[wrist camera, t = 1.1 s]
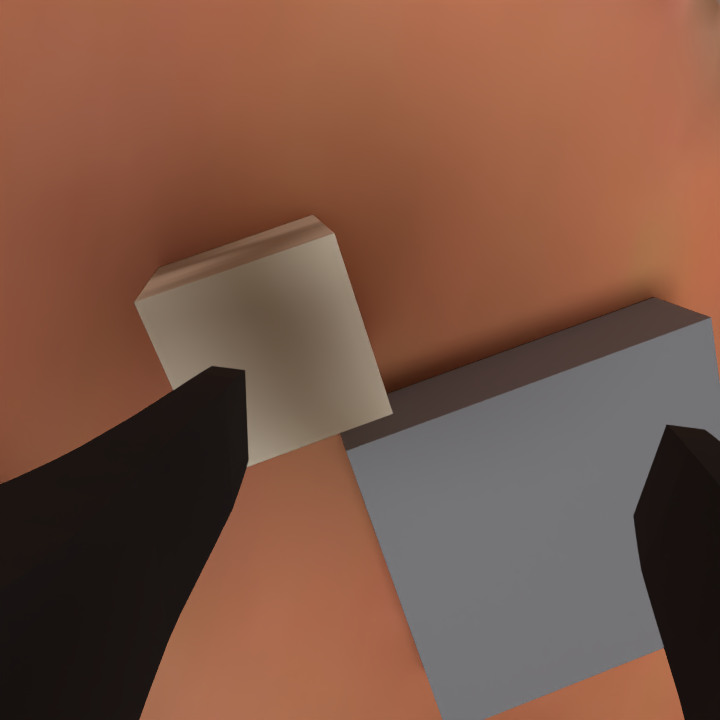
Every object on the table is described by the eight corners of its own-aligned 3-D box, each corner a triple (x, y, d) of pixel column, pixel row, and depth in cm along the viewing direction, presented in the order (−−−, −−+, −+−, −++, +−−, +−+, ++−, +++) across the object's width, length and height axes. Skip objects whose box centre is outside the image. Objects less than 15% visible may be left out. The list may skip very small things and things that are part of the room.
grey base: (425, 671, 26) (447, 733, 24) (333, 413, 22) (346, 450, 20) (696, 565, 27) (749, 613, 24) (654, 297, 23) (711, 317, 20)
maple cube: (219, 408, 22) (213, 479, 17) (158, 267, 20) (133, 302, 15) (360, 358, 22) (393, 413, 17) (313, 214, 20) (334, 233, 16)
